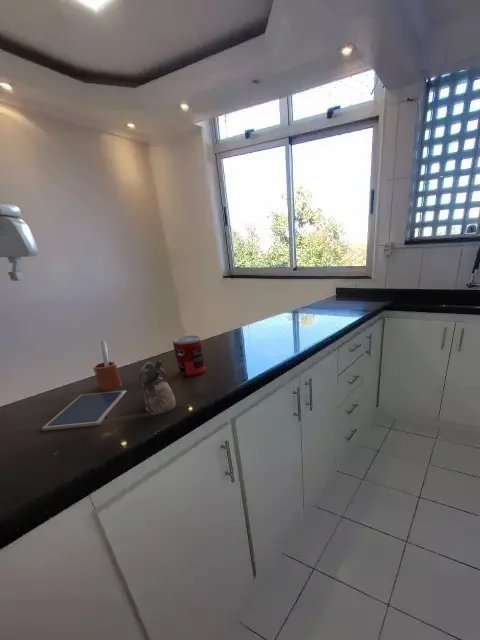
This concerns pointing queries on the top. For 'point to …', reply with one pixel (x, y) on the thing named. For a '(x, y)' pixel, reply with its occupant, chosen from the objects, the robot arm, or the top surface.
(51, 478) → the top surface
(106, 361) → the stylus
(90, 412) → the tablet
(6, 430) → the top surface
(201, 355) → the canned food
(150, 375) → the figurine
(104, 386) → the pen cup
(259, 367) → the top surface
